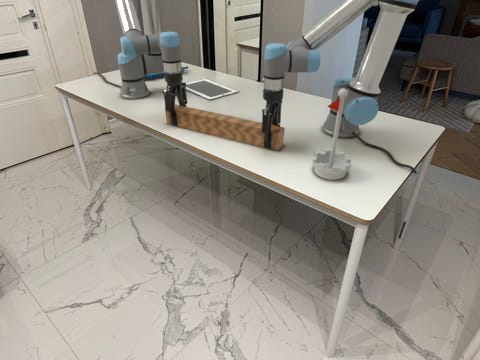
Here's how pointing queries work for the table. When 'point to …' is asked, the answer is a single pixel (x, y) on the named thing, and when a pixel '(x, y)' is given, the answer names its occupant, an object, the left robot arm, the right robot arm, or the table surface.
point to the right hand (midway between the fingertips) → (270, 144)
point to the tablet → (208, 89)
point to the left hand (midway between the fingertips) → (178, 122)
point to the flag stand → (333, 149)
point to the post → (226, 126)
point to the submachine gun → (159, 74)
